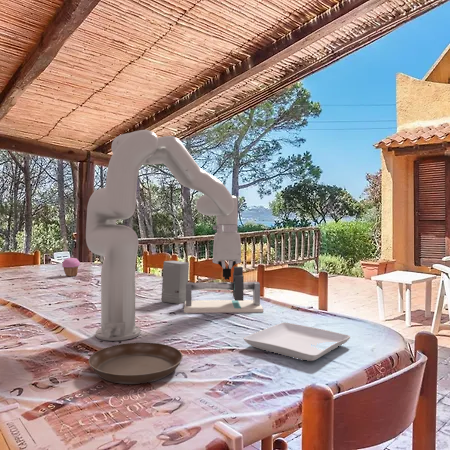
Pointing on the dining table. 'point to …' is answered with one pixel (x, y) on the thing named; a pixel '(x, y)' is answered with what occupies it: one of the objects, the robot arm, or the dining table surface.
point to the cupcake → (71, 266)
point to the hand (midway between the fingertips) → (226, 278)
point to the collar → (238, 283)
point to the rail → (222, 286)
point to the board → (222, 306)
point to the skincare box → (174, 281)
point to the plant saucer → (135, 362)
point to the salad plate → (295, 340)
